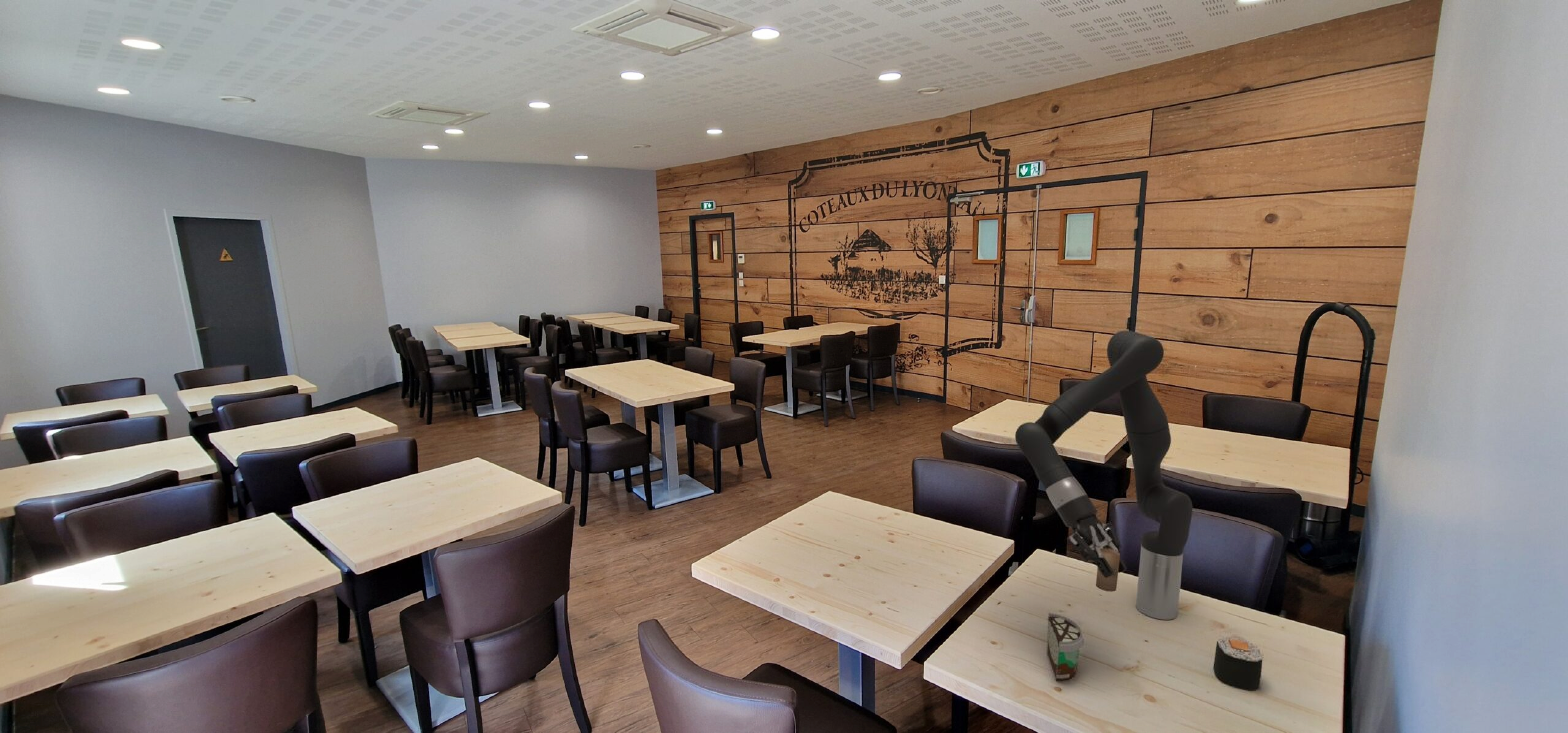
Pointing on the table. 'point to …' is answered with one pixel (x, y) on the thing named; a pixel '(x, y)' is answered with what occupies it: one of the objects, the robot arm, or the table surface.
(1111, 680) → the table surface
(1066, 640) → the food container
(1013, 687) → the table surface
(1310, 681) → the table surface
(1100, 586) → the walnut cylinder
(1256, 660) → the sushi
